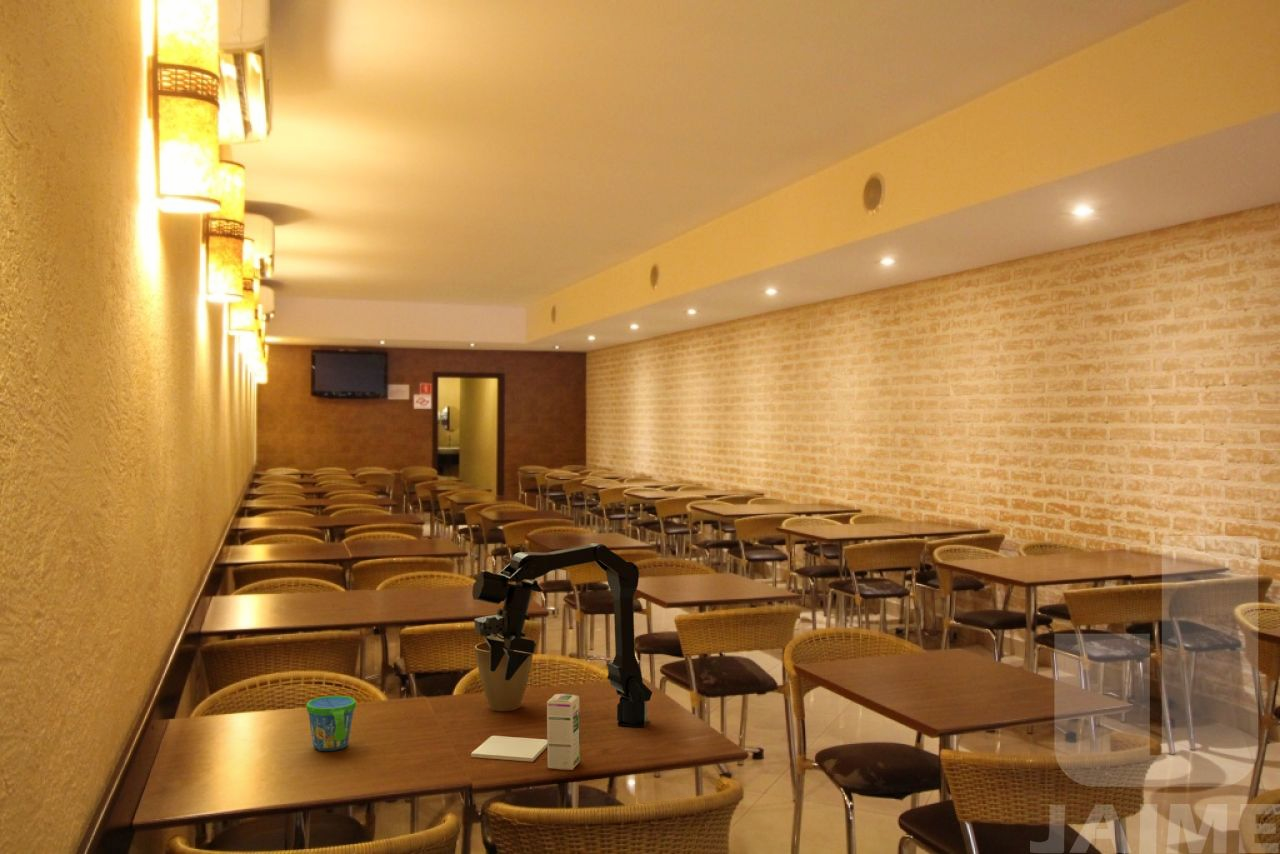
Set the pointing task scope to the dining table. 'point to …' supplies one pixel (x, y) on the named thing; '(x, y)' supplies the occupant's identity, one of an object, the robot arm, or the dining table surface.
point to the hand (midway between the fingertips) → (499, 675)
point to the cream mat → (510, 748)
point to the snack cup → (331, 721)
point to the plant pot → (502, 680)
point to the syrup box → (563, 731)
